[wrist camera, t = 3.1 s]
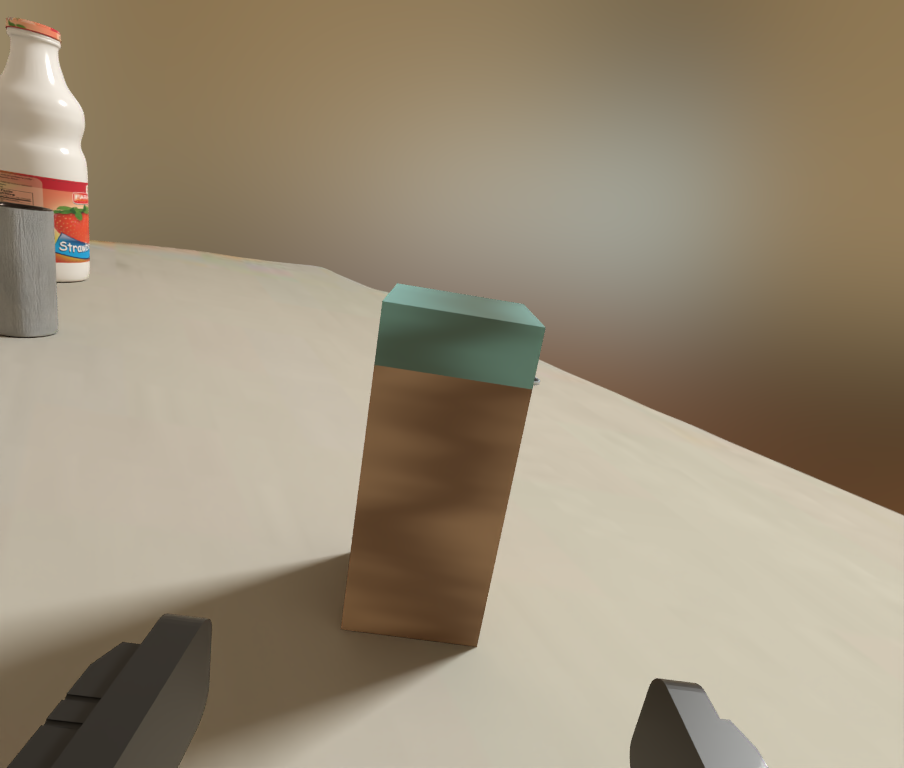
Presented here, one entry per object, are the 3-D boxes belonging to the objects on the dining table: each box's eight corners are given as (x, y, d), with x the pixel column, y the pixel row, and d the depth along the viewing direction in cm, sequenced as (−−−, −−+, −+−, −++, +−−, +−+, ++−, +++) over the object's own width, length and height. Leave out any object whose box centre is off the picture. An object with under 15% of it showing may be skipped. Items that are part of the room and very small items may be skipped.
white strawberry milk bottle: (9, 266, 70) (-7, 22, 62) (95, 274, 74) (90, 46, 67) (-15, 277, 62) (-37, -1, 54) (83, 286, 66) (76, 28, 58)
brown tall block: (340, 629, 20) (382, 300, 16) (361, 549, 24) (397, 283, 21) (476, 646, 20) (545, 327, 16) (470, 564, 25) (523, 303, 21)
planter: (52, 324, 49) (47, 206, 46) (63, 337, 46) (58, 212, 43) (-13, 324, 46) (-23, 198, 43) (-6, 338, 43) (-16, 203, 40)
